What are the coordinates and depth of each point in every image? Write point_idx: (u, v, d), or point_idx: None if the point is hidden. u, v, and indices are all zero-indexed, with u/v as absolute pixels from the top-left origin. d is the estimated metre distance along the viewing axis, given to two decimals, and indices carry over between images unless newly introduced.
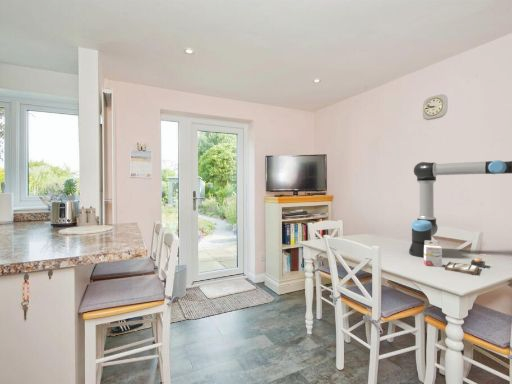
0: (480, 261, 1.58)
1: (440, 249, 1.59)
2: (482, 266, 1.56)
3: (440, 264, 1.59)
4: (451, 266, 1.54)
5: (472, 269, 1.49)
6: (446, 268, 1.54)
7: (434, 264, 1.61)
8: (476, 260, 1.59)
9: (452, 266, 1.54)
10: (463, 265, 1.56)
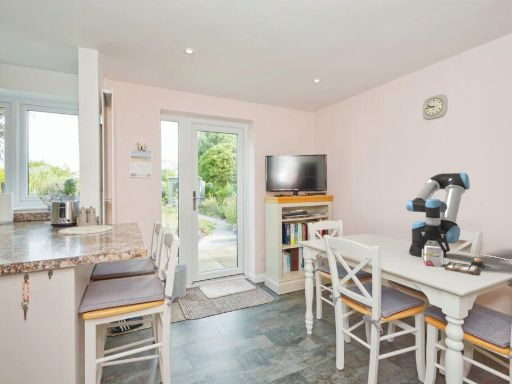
0: (480, 261, 1.58)
1: (440, 249, 1.59)
2: (482, 266, 1.56)
3: (440, 264, 1.59)
4: (451, 266, 1.54)
5: (472, 269, 1.49)
6: (446, 268, 1.54)
7: (434, 264, 1.61)
8: (476, 260, 1.59)
9: (452, 266, 1.54)
10: (463, 265, 1.56)
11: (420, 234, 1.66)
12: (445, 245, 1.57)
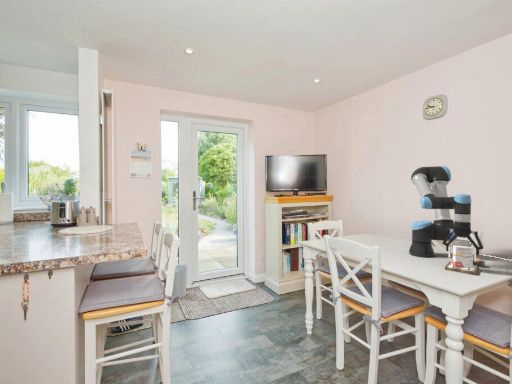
0: (480, 261, 1.58)
1: (471, 249, 1.50)
2: (482, 266, 1.56)
3: (471, 265, 1.51)
4: (451, 266, 1.54)
5: (472, 269, 1.49)
6: (446, 268, 1.54)
7: (464, 265, 1.52)
8: (476, 260, 1.59)
9: (452, 266, 1.54)
10: None
11: (448, 231, 1.57)
12: (478, 242, 1.48)
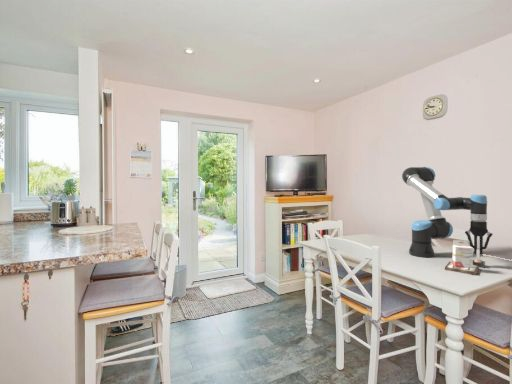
0: (480, 262, 1.58)
1: (471, 249, 1.50)
2: (482, 266, 1.56)
3: (471, 265, 1.51)
4: (451, 266, 1.54)
5: (472, 269, 1.49)
6: (446, 268, 1.54)
7: (464, 265, 1.52)
8: (476, 261, 1.59)
9: (452, 266, 1.54)
10: None
11: (466, 233, 1.62)
12: (485, 242, 1.56)
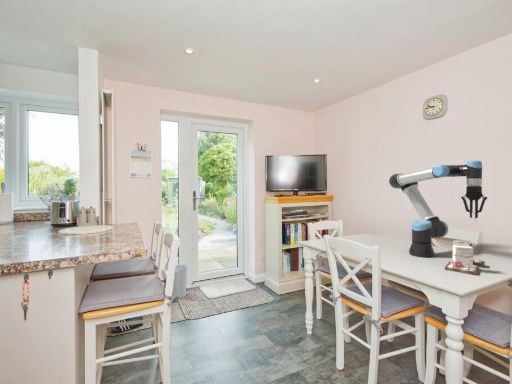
0: None
1: (471, 249, 1.50)
2: (482, 266, 1.56)
3: (471, 265, 1.51)
4: (451, 266, 1.54)
5: (472, 269, 1.49)
6: (446, 268, 1.54)
7: (464, 265, 1.52)
8: None
9: (452, 266, 1.54)
10: None
11: (462, 198, 1.69)
12: (480, 206, 1.63)
